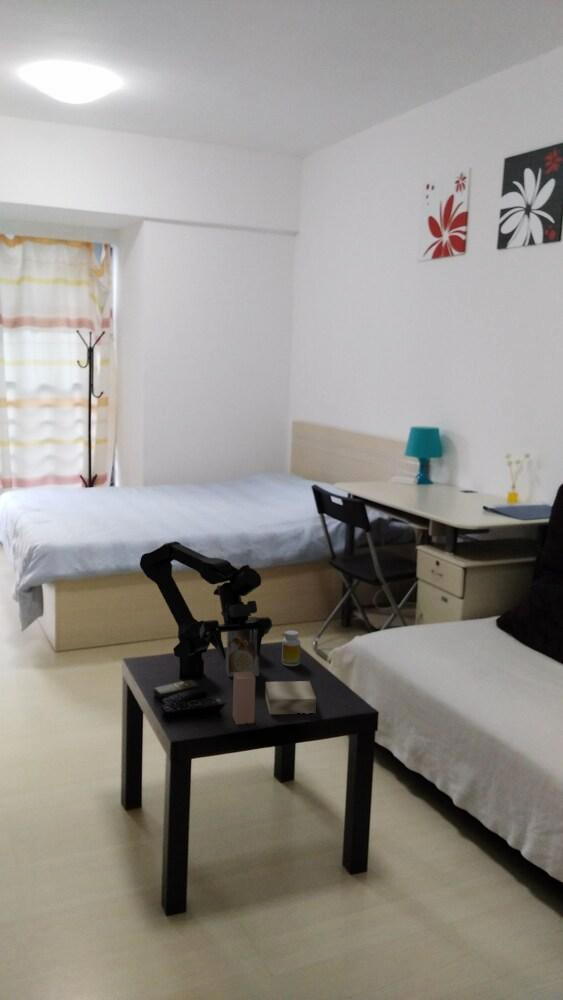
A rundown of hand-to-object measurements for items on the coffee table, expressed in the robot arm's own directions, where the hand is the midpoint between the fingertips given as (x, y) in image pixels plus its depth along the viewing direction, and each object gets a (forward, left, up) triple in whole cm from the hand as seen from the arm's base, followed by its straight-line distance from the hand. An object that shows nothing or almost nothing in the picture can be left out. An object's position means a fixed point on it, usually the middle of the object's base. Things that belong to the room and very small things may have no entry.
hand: (241, 657), depth 225 cm
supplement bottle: (+17, +30, -14) cm, 37 cm away
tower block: (0, -9, -13) cm, 16 cm away
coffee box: (+2, +23, -14) cm, 27 cm away
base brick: (+13, 0, -13) cm, 19 cm away
